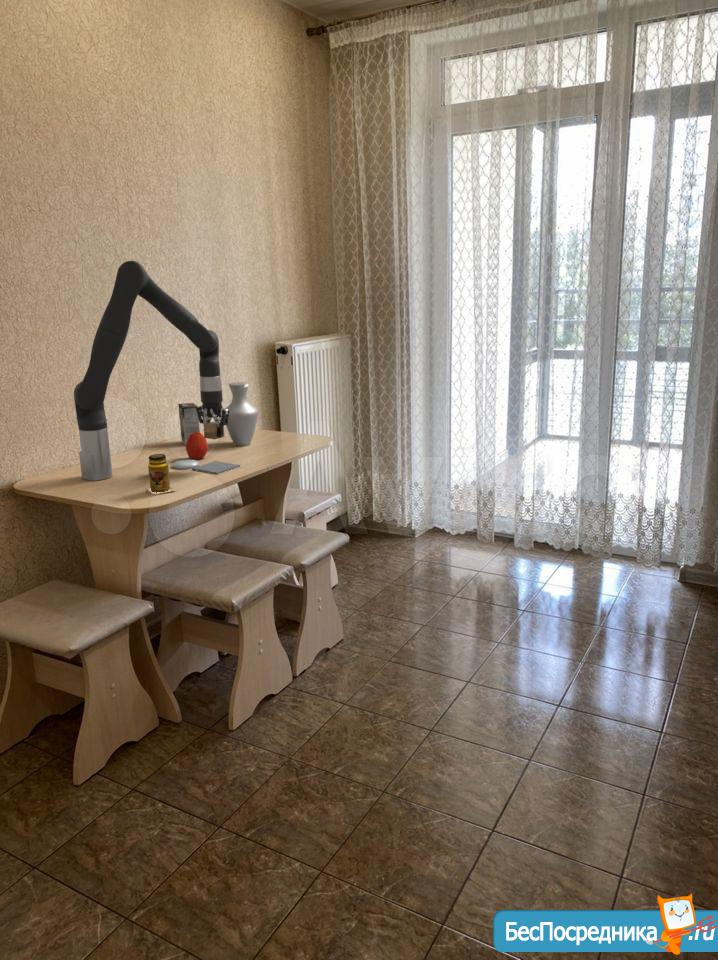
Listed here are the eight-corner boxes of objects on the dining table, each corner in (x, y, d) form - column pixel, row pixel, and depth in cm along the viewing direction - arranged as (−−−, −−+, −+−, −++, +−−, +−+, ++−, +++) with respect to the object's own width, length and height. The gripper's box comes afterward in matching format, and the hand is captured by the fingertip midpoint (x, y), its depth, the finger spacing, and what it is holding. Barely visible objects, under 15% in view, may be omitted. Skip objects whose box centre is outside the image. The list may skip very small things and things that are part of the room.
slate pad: (217, 474, 249) (217, 472, 249) (192, 469, 255) (192, 468, 255) (240, 466, 259) (240, 465, 259) (215, 462, 265) (215, 460, 265)
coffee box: (180, 441, 299) (177, 403, 295) (196, 440, 302) (193, 402, 297) (185, 446, 291) (182, 407, 287) (201, 444, 294) (198, 405, 289)
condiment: (153, 496, 226) (150, 459, 223) (144, 489, 233) (141, 454, 229) (175, 491, 230) (172, 455, 226) (166, 485, 237) (163, 450, 233)
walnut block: (214, 439, 251) (213, 425, 249) (204, 437, 253) (203, 424, 252) (224, 436, 255) (223, 422, 254) (214, 435, 257) (213, 421, 256)
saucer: (186, 470, 255) (186, 467, 255) (168, 467, 259) (168, 463, 259) (204, 464, 262) (203, 461, 262) (186, 461, 267) (185, 458, 266)
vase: (263, 440, 299) (261, 381, 292) (254, 448, 286) (251, 386, 279) (230, 439, 301) (227, 380, 294) (219, 447, 288) (215, 386, 281)
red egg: (203, 461, 266) (201, 433, 263) (182, 460, 268) (180, 433, 265) (212, 456, 274) (210, 429, 271) (192, 455, 276) (189, 428, 273)
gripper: (188, 388, 250) (192, 436, 255) (219, 391, 243) (222, 440, 247) (203, 385, 256) (206, 432, 261) (233, 388, 249) (236, 436, 253)
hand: (214, 436), depth 254 cm, fingers closed on walnut block, 5 cm apart
